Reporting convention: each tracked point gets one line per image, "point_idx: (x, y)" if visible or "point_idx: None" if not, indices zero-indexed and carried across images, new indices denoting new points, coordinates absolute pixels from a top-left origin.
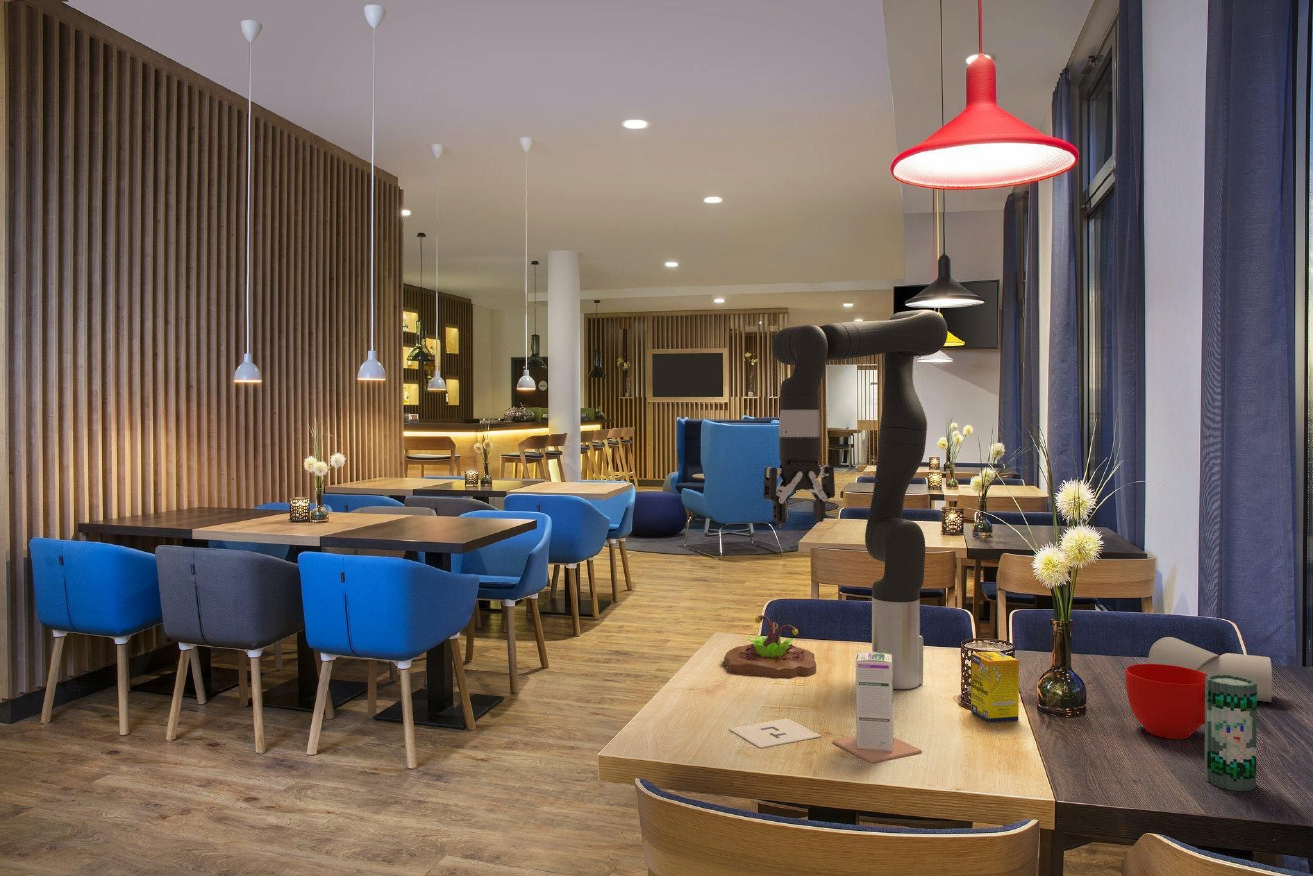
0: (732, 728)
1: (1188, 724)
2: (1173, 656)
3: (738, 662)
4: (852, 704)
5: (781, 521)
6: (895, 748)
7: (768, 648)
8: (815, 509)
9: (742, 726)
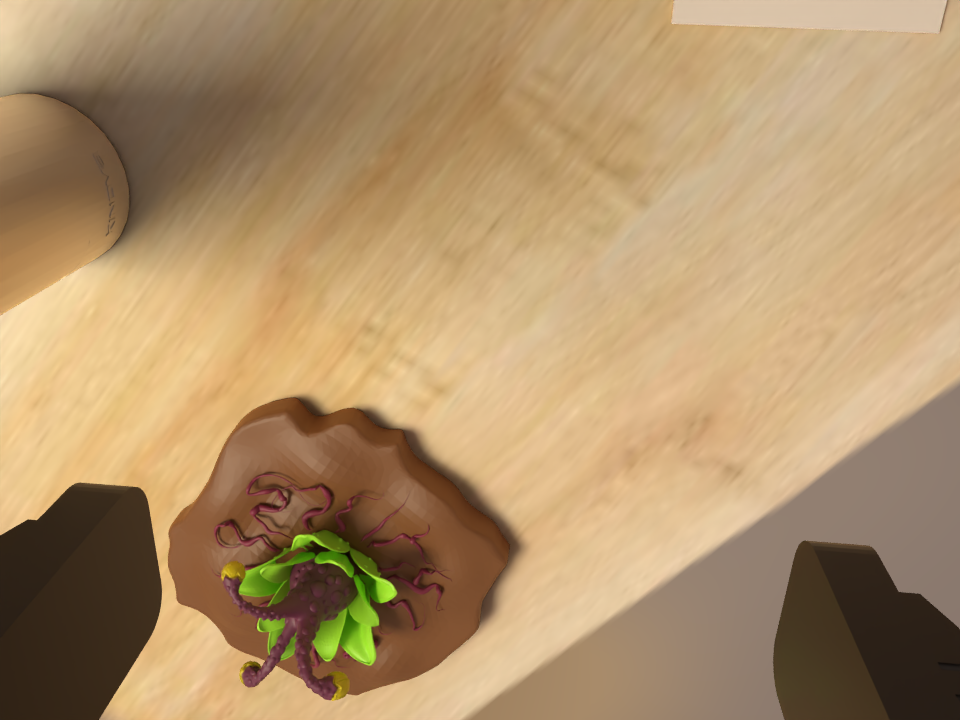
0: (927, 26)
1: None
2: None
3: (480, 556)
4: (339, 54)
5: (875, 566)
6: None
7: (349, 569)
8: (65, 713)
9: (880, 27)
